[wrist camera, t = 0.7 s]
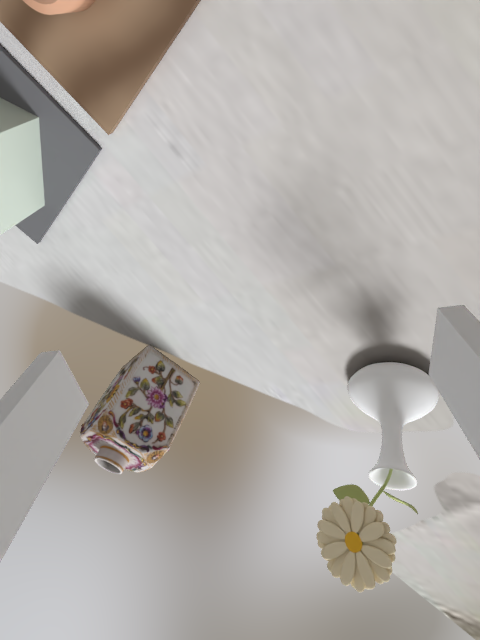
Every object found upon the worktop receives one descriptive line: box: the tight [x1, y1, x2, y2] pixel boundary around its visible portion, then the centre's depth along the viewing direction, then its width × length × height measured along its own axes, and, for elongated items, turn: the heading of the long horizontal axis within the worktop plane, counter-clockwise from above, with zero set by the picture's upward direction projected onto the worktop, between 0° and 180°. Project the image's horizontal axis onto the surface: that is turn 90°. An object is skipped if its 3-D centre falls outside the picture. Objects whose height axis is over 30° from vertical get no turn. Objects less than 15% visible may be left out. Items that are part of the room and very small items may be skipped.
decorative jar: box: [80, 345, 200, 474], centre depth 59 cm, size 12×12×18 cm
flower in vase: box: [317, 362, 440, 592], centre depth 41 cm, size 13×11×25 cm
